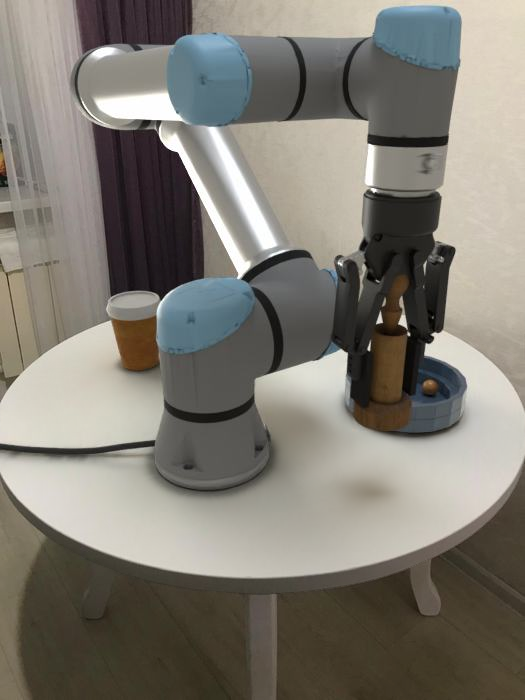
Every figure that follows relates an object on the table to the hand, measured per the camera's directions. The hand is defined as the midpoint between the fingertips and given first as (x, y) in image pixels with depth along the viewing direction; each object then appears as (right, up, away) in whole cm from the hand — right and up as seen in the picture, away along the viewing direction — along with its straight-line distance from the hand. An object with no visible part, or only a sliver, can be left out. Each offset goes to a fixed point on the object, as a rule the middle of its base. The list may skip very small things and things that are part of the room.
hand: (382, 395), depth 67 cm
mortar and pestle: (0, -3, +1) cm, 3 cm away
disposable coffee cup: (-36, +3, +38) cm, 52 cm away
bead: (+12, -1, +24) cm, 27 cm away
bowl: (+8, -3, +23) cm, 25 cm away
